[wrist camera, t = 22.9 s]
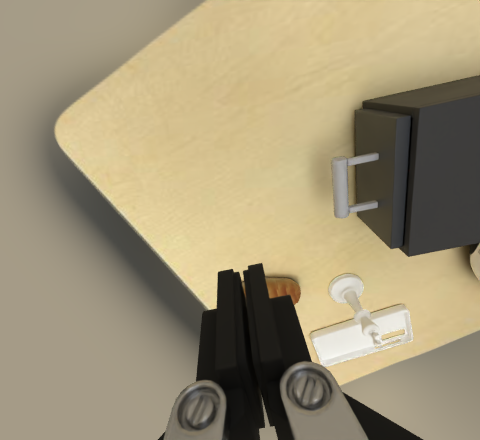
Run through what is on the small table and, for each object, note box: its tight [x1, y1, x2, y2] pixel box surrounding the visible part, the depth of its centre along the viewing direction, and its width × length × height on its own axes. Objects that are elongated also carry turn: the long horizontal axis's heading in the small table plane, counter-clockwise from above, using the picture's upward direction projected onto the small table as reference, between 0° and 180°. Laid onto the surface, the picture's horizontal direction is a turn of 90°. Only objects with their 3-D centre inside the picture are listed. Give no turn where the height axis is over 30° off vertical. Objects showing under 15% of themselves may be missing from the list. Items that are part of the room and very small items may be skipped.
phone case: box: [310, 304, 413, 367], centre depth 44 cm, size 7×1×15 cm
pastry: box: [242, 277, 301, 305], centre depth 38 cm, size 9×7×4 cm
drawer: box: [331, 108, 413, 249], centre depth 28 cm, size 18×12×8 cm
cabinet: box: [363, 75, 480, 257], centre depth 28 cm, size 15×14×10 cm
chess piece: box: [328, 274, 382, 347], centre depth 36 cm, size 5×5×10 cm
